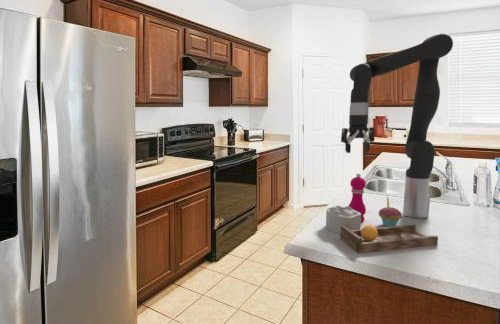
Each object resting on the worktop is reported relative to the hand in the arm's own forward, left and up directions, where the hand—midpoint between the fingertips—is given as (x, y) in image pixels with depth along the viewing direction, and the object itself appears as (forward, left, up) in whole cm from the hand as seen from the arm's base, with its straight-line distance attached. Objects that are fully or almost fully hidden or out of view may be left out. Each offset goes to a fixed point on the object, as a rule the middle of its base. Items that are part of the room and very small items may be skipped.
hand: (357, 152), depth 140 cm
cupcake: (-7, +14, -28) cm, 32 cm away
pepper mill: (+3, +6, -28) cm, 29 cm away
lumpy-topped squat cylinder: (+14, +14, -28) cm, 34 cm away
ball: (+11, +29, -24) cm, 39 cm away
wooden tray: (+4, +29, -28) cm, 40 cm away
